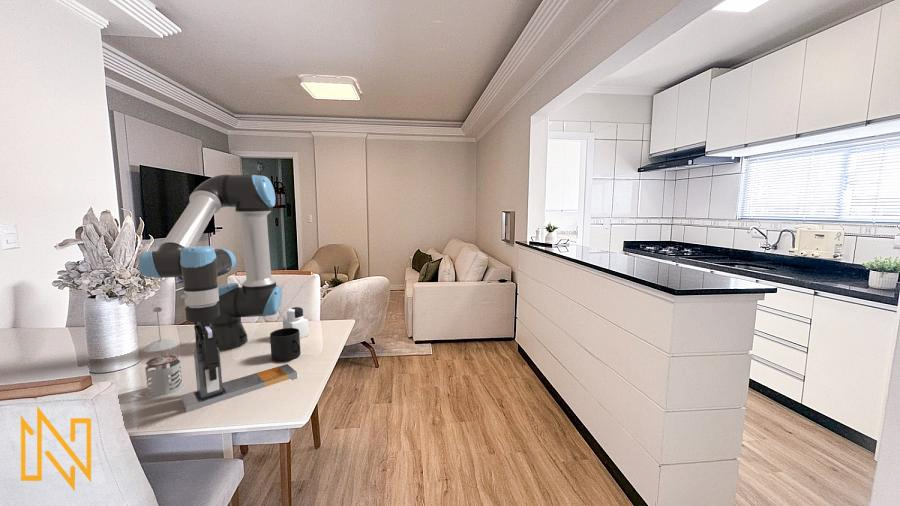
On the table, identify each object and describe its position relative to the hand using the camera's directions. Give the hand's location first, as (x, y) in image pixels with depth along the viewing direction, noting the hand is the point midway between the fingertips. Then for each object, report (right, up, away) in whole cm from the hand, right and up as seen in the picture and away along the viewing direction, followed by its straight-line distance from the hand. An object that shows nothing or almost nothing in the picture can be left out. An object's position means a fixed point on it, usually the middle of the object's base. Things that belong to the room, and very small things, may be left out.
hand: (209, 384), depth 97 cm
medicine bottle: (+3, +1, +49) cm, 49 cm away
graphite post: (0, -4, 0) cm, 4 cm away
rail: (+6, -4, +6) cm, 9 cm away
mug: (+9, -1, +29) cm, 30 cm away
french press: (-16, -4, +6) cm, 18 cm away
